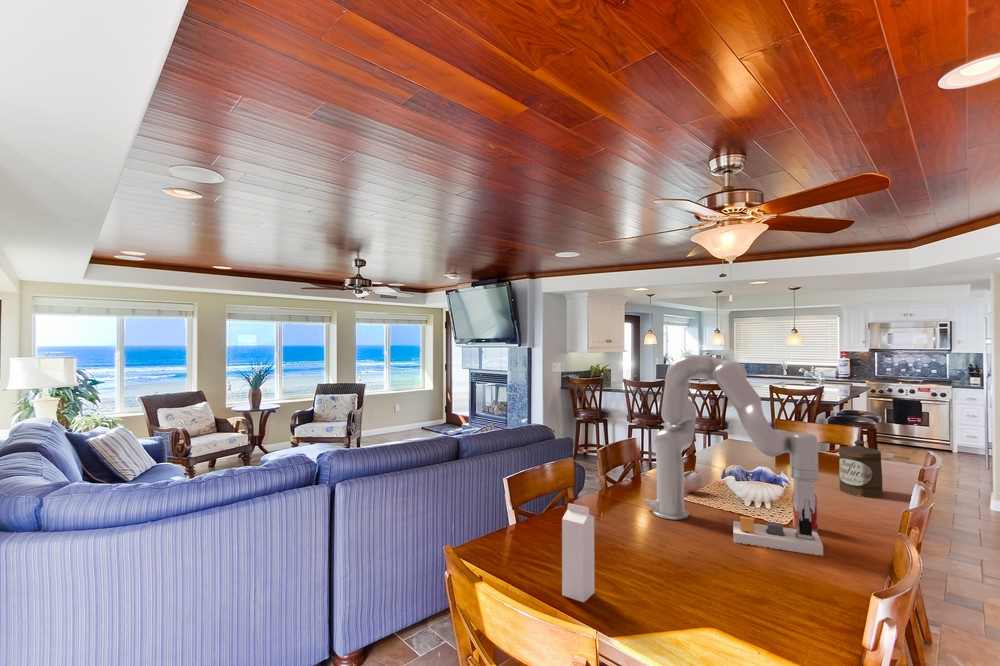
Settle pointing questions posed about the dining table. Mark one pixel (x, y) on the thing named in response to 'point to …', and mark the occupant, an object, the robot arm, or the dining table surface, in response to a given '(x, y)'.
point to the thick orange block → (746, 524)
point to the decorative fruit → (692, 481)
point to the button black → (775, 528)
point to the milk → (577, 553)
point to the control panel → (778, 539)
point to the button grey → (803, 536)
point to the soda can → (813, 517)
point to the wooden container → (860, 470)
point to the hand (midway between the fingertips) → (805, 533)
